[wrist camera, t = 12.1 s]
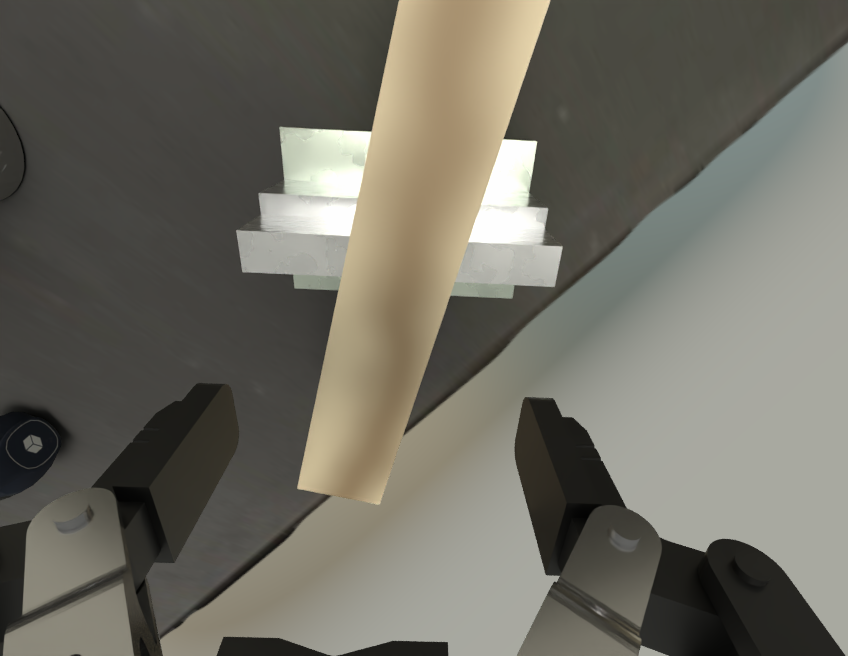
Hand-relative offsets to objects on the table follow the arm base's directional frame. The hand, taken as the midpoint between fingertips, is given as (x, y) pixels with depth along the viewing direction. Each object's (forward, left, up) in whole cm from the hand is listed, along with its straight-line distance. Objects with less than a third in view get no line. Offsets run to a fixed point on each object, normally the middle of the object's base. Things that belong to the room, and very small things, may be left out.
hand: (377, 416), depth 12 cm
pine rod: (0, 0, -14) cm, 14 cm away
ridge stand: (0, 0, -25) cm, 25 cm away
